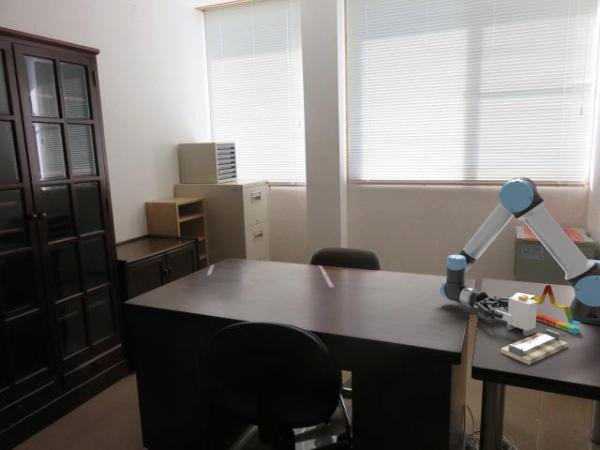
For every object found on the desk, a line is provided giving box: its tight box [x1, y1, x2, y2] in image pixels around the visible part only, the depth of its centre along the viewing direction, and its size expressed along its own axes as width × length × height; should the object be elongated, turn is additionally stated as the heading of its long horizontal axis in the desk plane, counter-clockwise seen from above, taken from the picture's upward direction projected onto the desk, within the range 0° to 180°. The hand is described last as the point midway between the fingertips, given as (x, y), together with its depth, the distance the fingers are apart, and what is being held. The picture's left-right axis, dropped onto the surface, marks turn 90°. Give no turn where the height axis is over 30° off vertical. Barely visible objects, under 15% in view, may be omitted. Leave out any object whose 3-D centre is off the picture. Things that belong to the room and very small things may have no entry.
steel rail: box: [508, 328, 561, 357], centre depth 152 cm, size 22×4×2 cm, turn 121°
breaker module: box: [506, 295, 538, 337], centre depth 167 cm, size 5×8×13 cm, turn 31°
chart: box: [503, 284, 582, 335], centre depth 176 cm, size 30×3×15 cm, turn 27°
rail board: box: [500, 332, 569, 365], centre depth 153 cm, size 22×10×2 cm, turn 121°
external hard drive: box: [512, 292, 535, 301], centre depth 199 cm, size 2×8×12 cm
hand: (523, 314), depth 166 cm, fingers open, 13 cm apart
